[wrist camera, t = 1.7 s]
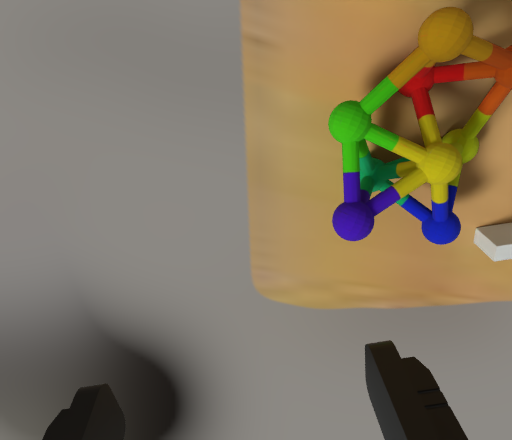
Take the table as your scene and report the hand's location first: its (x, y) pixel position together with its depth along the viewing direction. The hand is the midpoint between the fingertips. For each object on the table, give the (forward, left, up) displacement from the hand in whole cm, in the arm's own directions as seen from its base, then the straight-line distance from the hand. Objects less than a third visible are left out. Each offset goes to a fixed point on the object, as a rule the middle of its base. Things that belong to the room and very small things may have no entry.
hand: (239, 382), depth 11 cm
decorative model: (0, +13, -20) cm, 24 cm away
